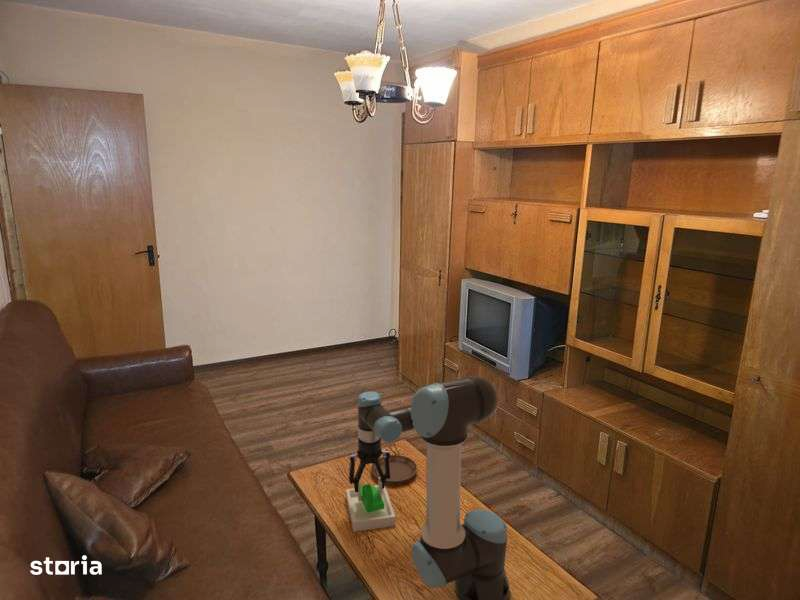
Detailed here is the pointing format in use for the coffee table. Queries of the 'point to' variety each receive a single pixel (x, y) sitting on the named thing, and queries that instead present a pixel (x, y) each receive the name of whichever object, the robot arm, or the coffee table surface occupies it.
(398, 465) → the plant saucer
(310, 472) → the coffee table surface
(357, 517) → the tray
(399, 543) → the coffee table surface
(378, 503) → the mechanical part
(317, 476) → the coffee table surface
